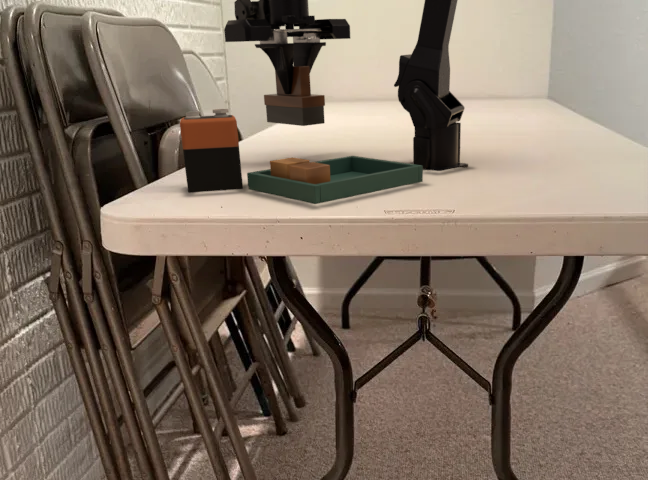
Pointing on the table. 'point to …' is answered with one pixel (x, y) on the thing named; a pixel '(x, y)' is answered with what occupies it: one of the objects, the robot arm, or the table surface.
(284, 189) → the tray
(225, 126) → the battery
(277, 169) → the brown wooden cube
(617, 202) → the table surface
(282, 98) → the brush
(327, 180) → the crumb
